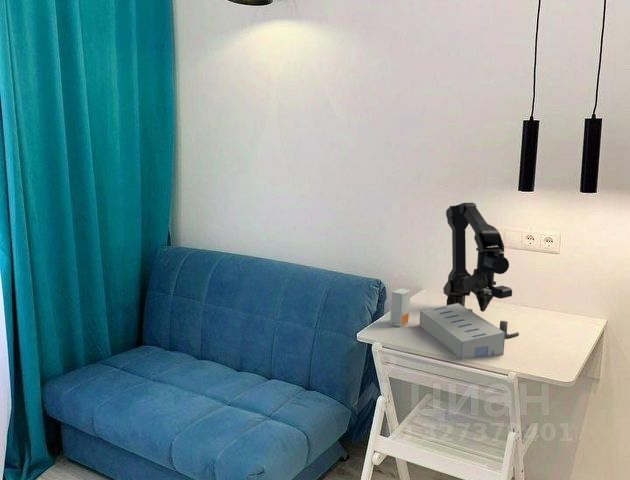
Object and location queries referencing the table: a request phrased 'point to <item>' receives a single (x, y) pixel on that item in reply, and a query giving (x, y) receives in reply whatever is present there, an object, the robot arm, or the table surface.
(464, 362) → the table surface
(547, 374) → the table surface
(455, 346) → the grey slotted box
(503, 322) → the cord posts
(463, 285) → the robot arm
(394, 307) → the skincare box
